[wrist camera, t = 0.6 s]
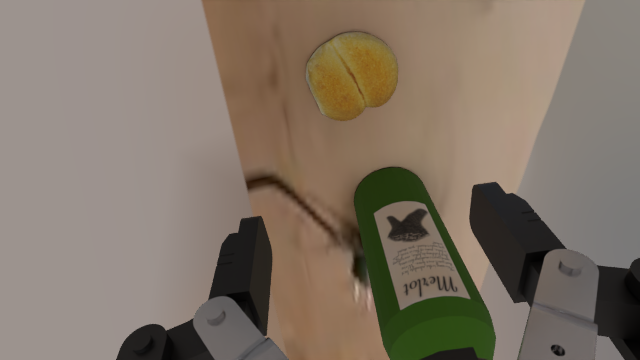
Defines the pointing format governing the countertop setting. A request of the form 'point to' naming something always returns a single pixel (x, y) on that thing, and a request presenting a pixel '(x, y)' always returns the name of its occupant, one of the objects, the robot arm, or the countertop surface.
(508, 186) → the countertop surface
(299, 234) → the countertop surface
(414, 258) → the wine bottle
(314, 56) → the bread roll
